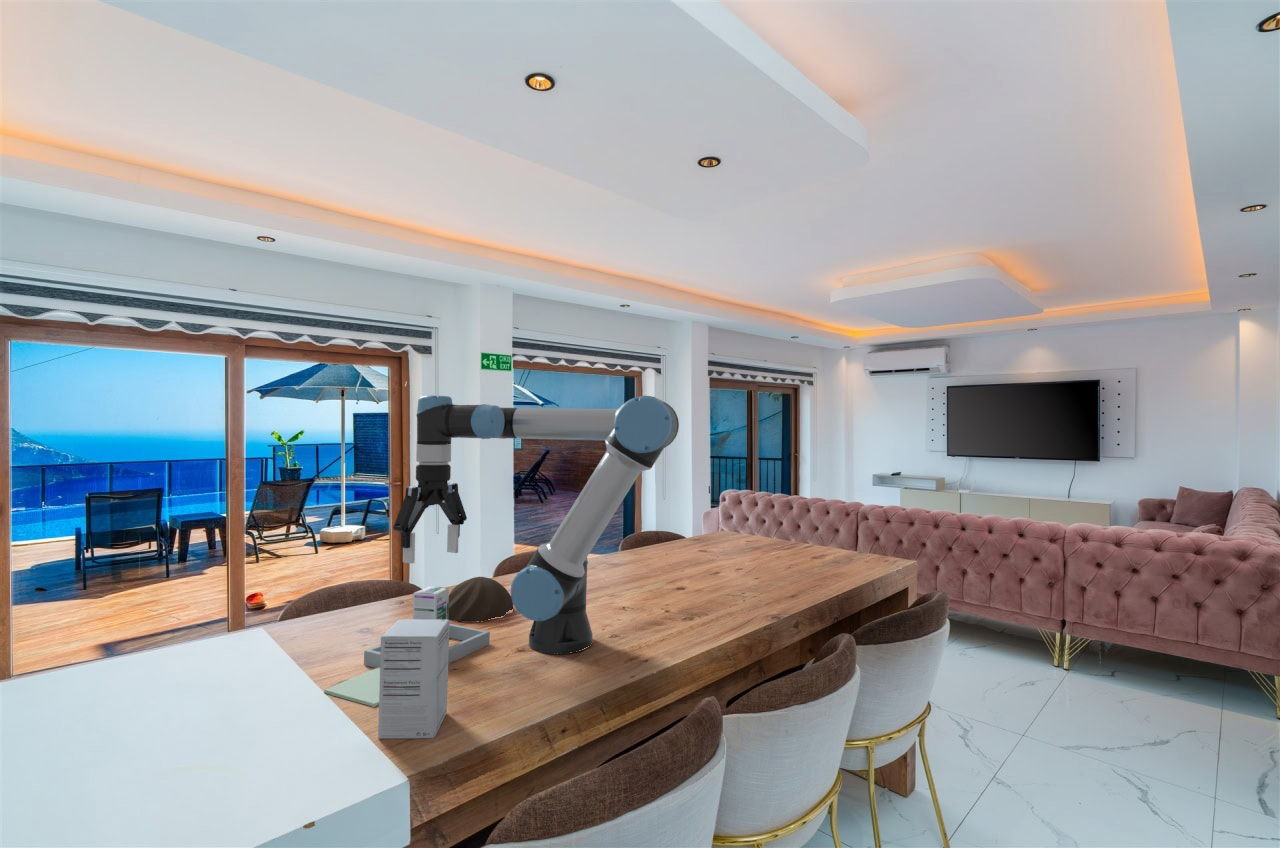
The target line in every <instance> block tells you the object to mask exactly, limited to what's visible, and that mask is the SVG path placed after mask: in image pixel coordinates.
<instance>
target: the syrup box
mask: <svg viewBox="0 0 1280 848" xmlns="http://www.w3.org/2000/svg"><path fill="white" fill-rule="evenodd" d="M412 595H413V597H412V598H413V599H412V601H413V602H412V603H413V604H412V619H422V620H449V619H448V617H449V595H450V589H449V588H448V587H442V586H426V587H425V588H423V589H420V590H417V591H415V592H413V593H412Z"/></svg>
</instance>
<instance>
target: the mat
mask: <svg viewBox="0 0 1280 848" xmlns="http://www.w3.org/2000/svg"><path fill="white" fill-rule="evenodd" d="M379 691H380V667H378V668H374V669H371V670H369V671H367V672H366V671H365V672H364V673H361V674H359V675H357V676H353V677H352V678H350V679H347V680H345V681H343V682H342V681H341V682H340V683H337V684H335V685H332V686H330V687H327V688H326V689H324V692H323V693H324V694H327V695H330V696H333V697H337V698H339V699H340V698H341V699H343V700H344V699H345V700H348V701H352V702H355V703H359V704H363V705H367V706H368V707H373V708H376V707H378V706H379Z"/></svg>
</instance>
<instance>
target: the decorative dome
mask: <svg viewBox="0 0 1280 848" xmlns="http://www.w3.org/2000/svg"><path fill="white" fill-rule="evenodd" d="M512 609H513V610H514V605H513V602H512V598H511V593H509V591H508V590H507V588H506V587H504V585H503V584H501V583H500V582H498V581H497V580H495V579H493V578H489V577H485V576H475V577H474V576H473V577H471V578H469V579H466V580H464V581H462V582H459V584H457V585H456V586H455V587H453V588H452V590H450V592H449V617H448V620H452V619H453V620H452V621H454V620H455V622H456V621H457V622H456V623H463V622H462V621H479V622H478V623H482V622H481V621H485V620H488V619H491V618H495V617H501V616H504V615H505V614H506V612H508V611H509V610H512ZM505 616H506V615H505ZM488 621H489V620H488ZM485 622H486V621H485Z"/></svg>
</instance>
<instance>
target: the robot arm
mask: <svg viewBox="0 0 1280 848" xmlns="http://www.w3.org/2000/svg"><path fill="white" fill-rule="evenodd" d="M415 415H416V449H415V450H416V452H415V453H416V454H415V457H416V458H415V460H416V462H417V463H418V464H416V465H415V480H416V481H417V483H418V484H417V486H412V485H411V486H407V487H406V488H405V493H404V495H405V496H404V499H403V501H402V504H401V506H400V510H399V512H398V514H397V517H396V519H395V522H394V524H393V527H392V528H393V530H394V531H397V532H398V533H400V535H401V537H400V546H401V549H402V563H405V564H415V562H416V561H415V560H416V558H415V557H416V556H415V555H416V552H415V551H416V548H415V547H416V532H413V530H414V529H415V527H416V525H417V524H418V522H419V520H420V518H421V517H422V516H423V514H424V512H425V510H426V509H428V508H429V507H430V506H435V505H439V507H440V509H441V510H442V511H443V512H442V513H444V514H445V516H446V518H447V519H448V521H449V522H450V523H448V524H447V542H446V552H447V553H453V554H457V553H459V538H460V537H461V535H460V534H461V533H460V532H461V525H464V523H465V521H467V519H468V516H467V514H466V511H465V508H464V504H463V502H462V499H461V496H460V493H459V485H458V483H456V482H448V481H450V480H451V475H452V474H451V471H452V467H451V465H450V464H449V463H450V462H451V461H452V438H454V439H456V438H458V439H459V438H461V439H482V440H488V439H489V440H490V439H502V440H503V439H505V440H506V439H514V440H515V439H526V440H527V439H529V440H531V439H532V440H533V439H534V440H566V441H567V440H571V441H573V440H574V441H577V440H578V441H604V442H605V446H606V447H605V448H606V451H605V453H604V455H603V456H602V458H601V459H600V461H599V463H597V466H596V467H595V469H594V471H593V472H592V474H591V475H590V477H589V478H588V480H587V482H586V483H585V485H584V487H583V488H582V490H581V491H580V493H579V495H578V496H577V498H576V499H575V501H574V503H573V505H572V506H571V508H570V509H569V511H568V512H567V514H566V515H565V517H564V518H563V520H562V522H561V524H560V525H559V527H558V528H557V530H556V531H555V533H554V535H553V537H552V538H551V540H550V541H549V542H547V543H542V544H540V545H539V546H538V547H537V549H536V551H535V552H534V554H533V555H532V556H531V558H530V560H529V561H528V563H527V565H526V566H525V567H524V568H522V569H521V570H519V572H517V573H516V575H515V576H514V578H513V580H512V582H511V585H510V593H509V594H510V596H511V598H512V602H513V608H515V610H516V611H517V612H518V613H519V614H520V615H521V616H522V617H523V618H526V619H528V620H530V621H533V623H532V626H531V628H530V632H529V633H528V634H529V635H528V646H529V648H531V649H532V650H534V651H536V652H539V653H545V654H549V653H551V654H552V655H561V654H560V653H568V654H571V653H570V652H575V653H577V652H576V651H579V650H582V649H584V648H586V647H588V646H590V645H591V643H592V644H593V635H594V634H593V630H592V628H591V623H590V619H589V617H588V613H587V588H588V587H587V583H588V580H587V579H588V564H589V561H588V557H589V555H590V553H591V551H592V550H593V548H594V547H595V545H596V543H597V542H598V540H599V539H600V537H601V535H602V534H603V532H604V531H605V529H606V527H607V526H608V525H609V523H610V521H611V520H612V518H613V517H614V515H615V513H616V512H617V510H618V508H619V507H620V506H621V503H622V502H623V501H624V499H625V497H626V496H627V494H628V493H629V491H630V489H631V488H632V486H633V485H634V483H635V482H636V479H637V478H639V476H640V474H641V473H642V472H645V471H647V470H651V469H652V468H653V466H654V465H655V463H656V461H657V460H658V458H659V457H660V455H661V453H662V452H663V450H664V449H665V448H667V447H668V446H670V445H671V444H672V443H673V442H674V440H675V439H676V437H677V436H678V433H679V428H680V427H679V426H680V422H679V417H678V414H677V412H676V411H675V409H674V408H673V407H672V406H671V405H670V404H669V403H667V402H665V401H663V400H661V399H659V398H657V397H655V396H651V395H640V396H636V397H633V398H630V399H628V400H627V401H625V402H624V403H623V404H622V405H620V407H618V408H578V407H577V408H573V407H571V408H567V407H565V408H564V407H562V408H561V407H560V408H559V407H557V408H555V407H554V408H553V407H550V408H549V407H500V406H498V405H494V404H487V403H486V404H483V403H482V404H453V398H451V396H447V395H432V394H431V395H430V394H429V395H428V394H427V395H422V396H420V397H419V398H418V401H417V410H416V414H415ZM591 646H592V645H591ZM591 646H590V647H591ZM554 653H555V654H554ZM557 653H558V654H557ZM551 654H550V655H551Z"/></svg>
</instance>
